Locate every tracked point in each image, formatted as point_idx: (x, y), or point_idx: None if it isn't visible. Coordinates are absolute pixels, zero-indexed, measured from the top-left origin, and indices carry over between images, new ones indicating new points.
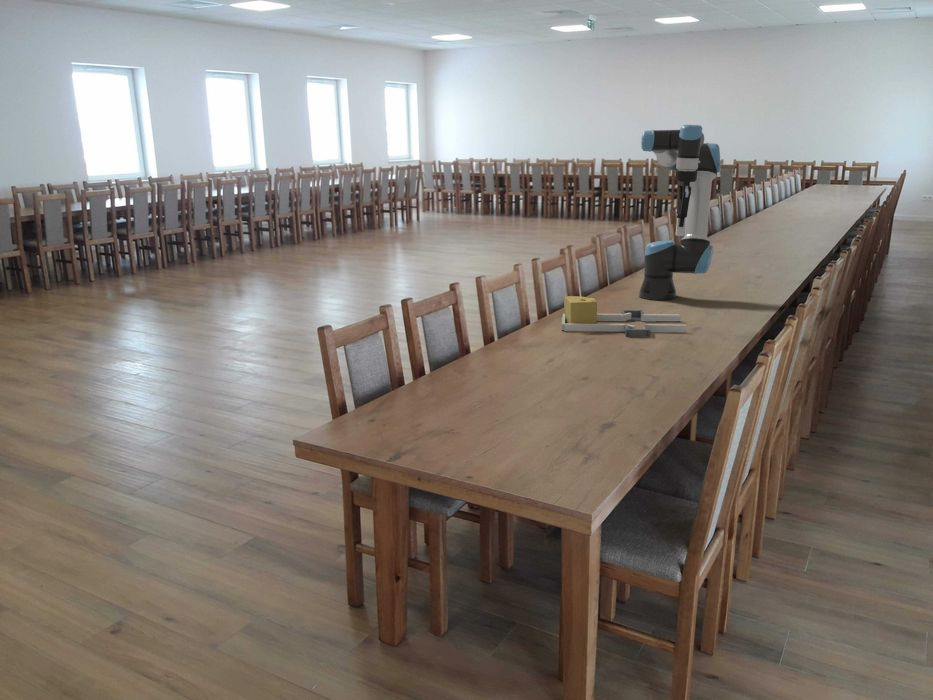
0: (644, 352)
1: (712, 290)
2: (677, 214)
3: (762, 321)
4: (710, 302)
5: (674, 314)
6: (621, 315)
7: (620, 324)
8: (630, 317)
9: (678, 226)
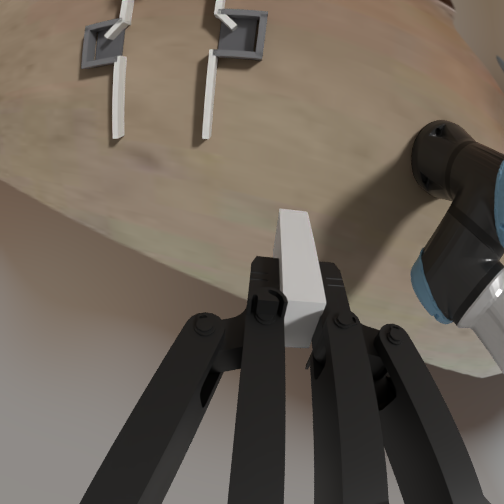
0: (20, 74)
1: None
2: (344, 323)
3: (209, 282)
4: (370, 240)
5: (208, 125)
6: (215, 7)
7: (122, 9)
8: (230, 29)
9: (280, 254)
